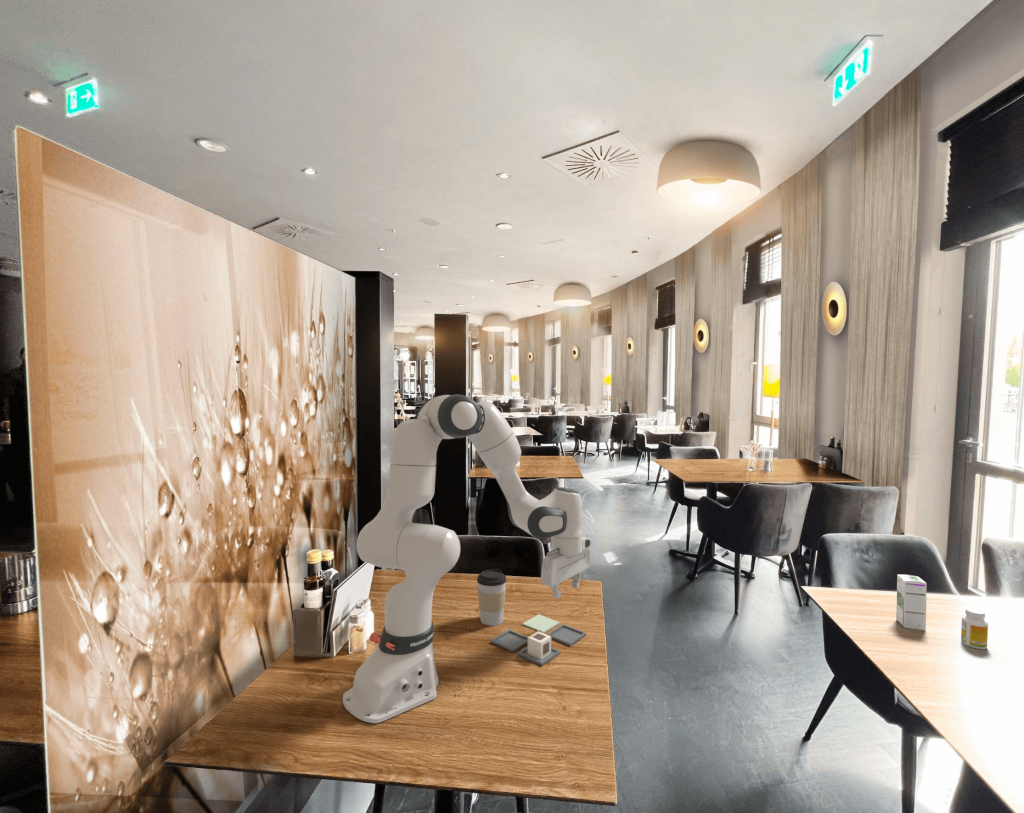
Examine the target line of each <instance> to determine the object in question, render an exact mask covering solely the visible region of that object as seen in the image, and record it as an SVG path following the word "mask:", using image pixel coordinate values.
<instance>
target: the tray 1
mask: <svg viewBox="0 0 1024 813" xmlns="http://www.w3.org/2000/svg"><path fill="white" fill-rule="evenodd" d="M528 637H529V636H526V635H523V634H521V633H519V632H517V631H514V630H512V629H507V630H506V631H505V632H502V633H501V634H499V635H497V636H495V637H494V638H492V639H491V640H490V643H491V644H493V645H495V646H496V647H499V648H502V649H503V650H506V651H508V652H510V653H512V654H513V653H514V652H516V651H518V650H519V649H521V648H523V647H524V646H526V645H528Z"/></svg>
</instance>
